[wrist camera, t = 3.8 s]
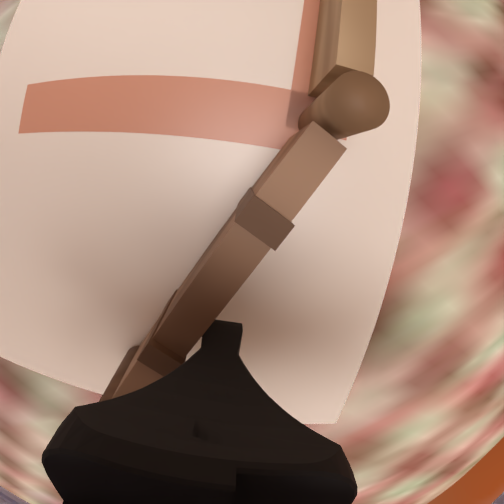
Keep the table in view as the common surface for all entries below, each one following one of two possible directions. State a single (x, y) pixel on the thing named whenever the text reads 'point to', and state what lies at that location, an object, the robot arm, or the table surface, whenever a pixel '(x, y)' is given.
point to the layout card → (190, 185)
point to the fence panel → (231, 257)
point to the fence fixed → (345, 71)
